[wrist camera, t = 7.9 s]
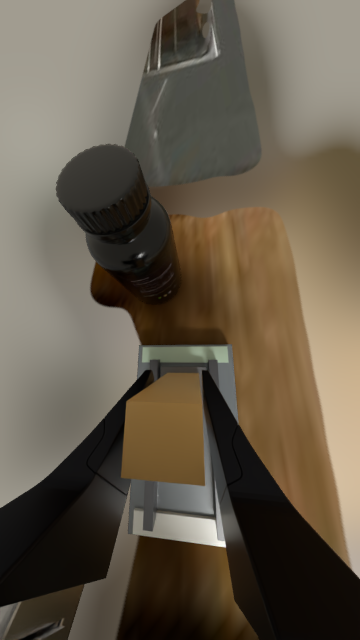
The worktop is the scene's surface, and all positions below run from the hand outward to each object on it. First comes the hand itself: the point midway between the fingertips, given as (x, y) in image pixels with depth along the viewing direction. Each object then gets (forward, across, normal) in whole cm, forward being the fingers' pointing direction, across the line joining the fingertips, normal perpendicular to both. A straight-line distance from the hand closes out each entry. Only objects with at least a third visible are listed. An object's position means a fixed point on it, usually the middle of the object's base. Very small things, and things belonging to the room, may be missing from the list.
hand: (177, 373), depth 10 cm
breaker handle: (+3, 0, +5) cm, 6 cm away
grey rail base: (+1, 0, +9) cm, 9 cm away
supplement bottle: (+13, +4, -2) cm, 13 cm away
